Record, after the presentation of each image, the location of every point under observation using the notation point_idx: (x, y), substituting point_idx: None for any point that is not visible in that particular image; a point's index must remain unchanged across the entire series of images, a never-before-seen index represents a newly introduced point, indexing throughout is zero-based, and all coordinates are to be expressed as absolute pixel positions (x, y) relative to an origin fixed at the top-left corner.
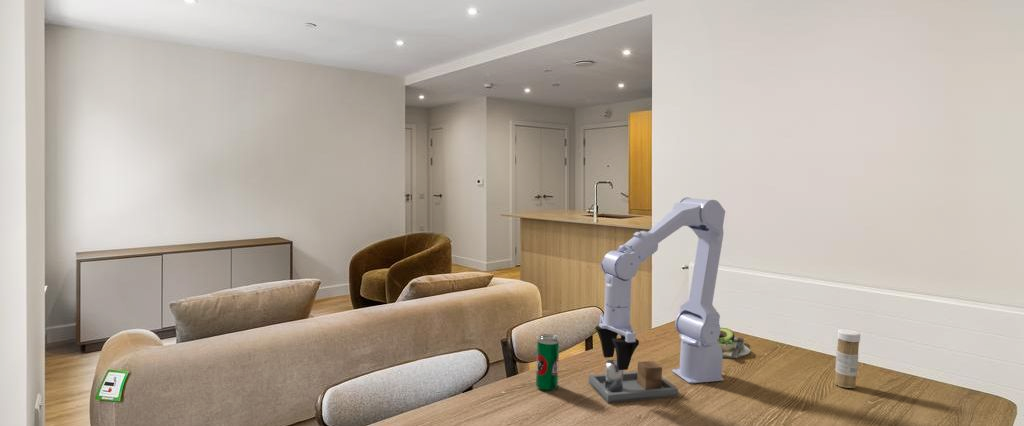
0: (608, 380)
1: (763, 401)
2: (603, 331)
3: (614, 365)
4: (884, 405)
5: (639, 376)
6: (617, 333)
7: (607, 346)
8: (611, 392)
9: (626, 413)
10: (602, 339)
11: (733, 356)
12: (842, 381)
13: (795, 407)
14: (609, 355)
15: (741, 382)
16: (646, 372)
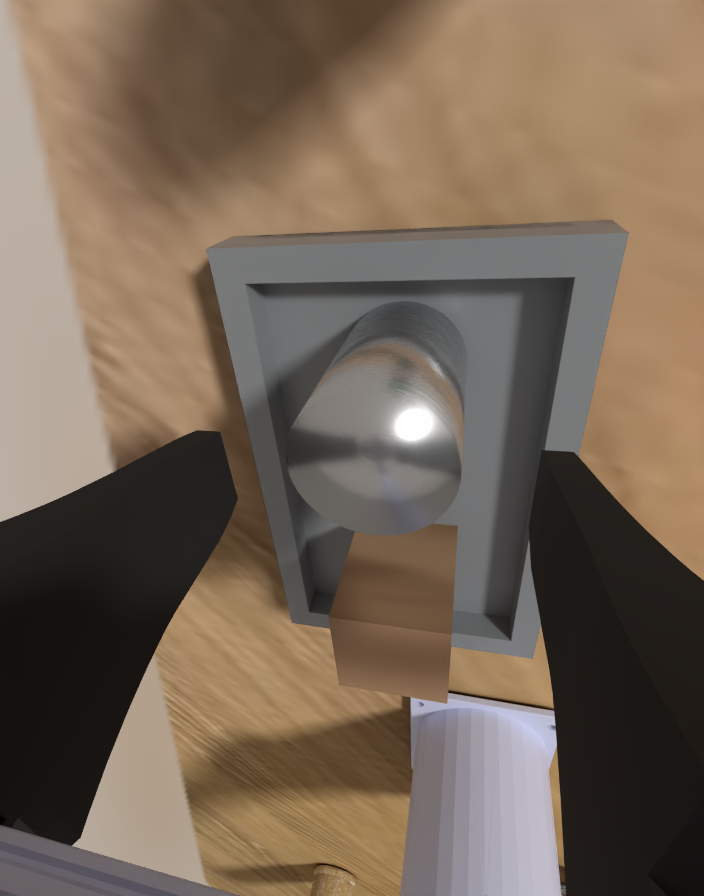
0: (358, 336)
1: (259, 741)
2: (652, 803)
3: (313, 442)
4: (242, 846)
5: (427, 558)
6: (565, 856)
7: (561, 571)
8: (346, 320)
9: (116, 298)
10: (606, 607)
11: (563, 886)
12: (320, 884)
13: (226, 761)
14: (535, 508)
15: (394, 782)
16: (336, 596)
